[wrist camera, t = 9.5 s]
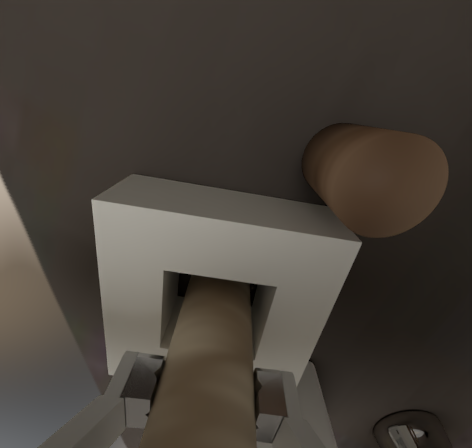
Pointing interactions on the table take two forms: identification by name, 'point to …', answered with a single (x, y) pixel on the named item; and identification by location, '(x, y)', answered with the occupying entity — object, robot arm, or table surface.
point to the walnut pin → (375, 177)
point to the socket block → (217, 264)
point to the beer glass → (411, 431)
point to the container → (312, 408)
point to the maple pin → (207, 372)
